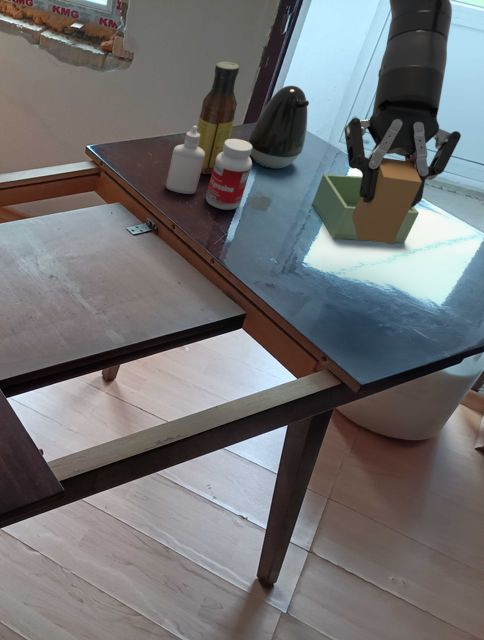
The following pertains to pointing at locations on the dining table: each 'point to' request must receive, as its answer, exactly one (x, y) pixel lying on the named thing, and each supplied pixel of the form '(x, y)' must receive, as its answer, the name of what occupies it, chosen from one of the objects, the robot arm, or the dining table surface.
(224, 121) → the sauce bottle
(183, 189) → the eye dropper bottle
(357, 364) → the dining table surface
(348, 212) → the open box
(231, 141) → the pill bottle
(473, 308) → the dining table surface
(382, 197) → the block
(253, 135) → the black bird figurine
